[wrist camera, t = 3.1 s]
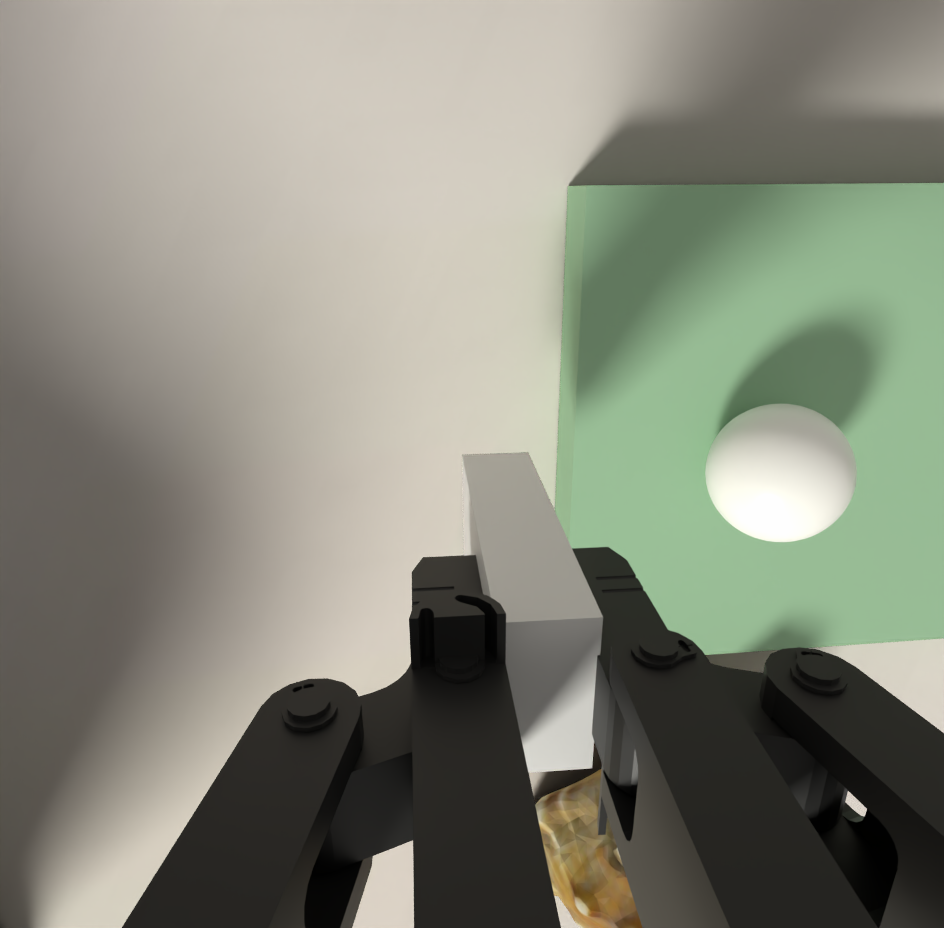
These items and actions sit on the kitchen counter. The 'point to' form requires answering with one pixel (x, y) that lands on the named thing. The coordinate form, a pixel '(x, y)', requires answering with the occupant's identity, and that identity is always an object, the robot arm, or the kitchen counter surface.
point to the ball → (781, 472)
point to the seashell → (585, 858)
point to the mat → (757, 398)
